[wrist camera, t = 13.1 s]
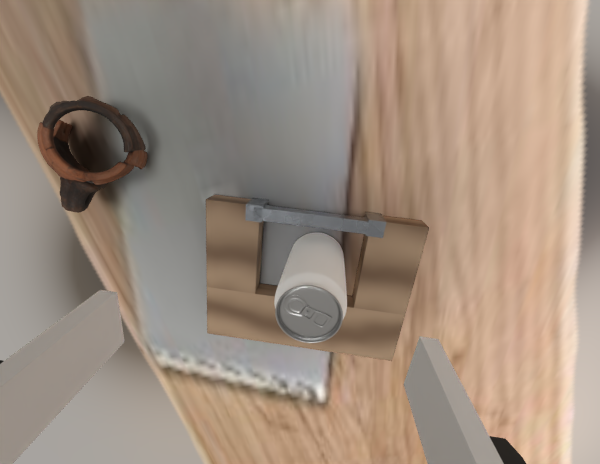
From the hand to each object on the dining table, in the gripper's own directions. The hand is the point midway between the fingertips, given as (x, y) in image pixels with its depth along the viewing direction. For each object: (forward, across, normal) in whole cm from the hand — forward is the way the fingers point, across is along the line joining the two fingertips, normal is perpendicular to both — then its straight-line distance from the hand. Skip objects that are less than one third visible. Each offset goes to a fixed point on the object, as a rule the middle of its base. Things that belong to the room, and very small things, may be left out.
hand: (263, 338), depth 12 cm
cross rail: (+22, +2, -1) cm, 22 cm away
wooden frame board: (+21, +2, -9) cm, 23 cm away
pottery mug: (+22, -23, +3) cm, 32 cm away
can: (+22, +3, -6) cm, 23 cm away
